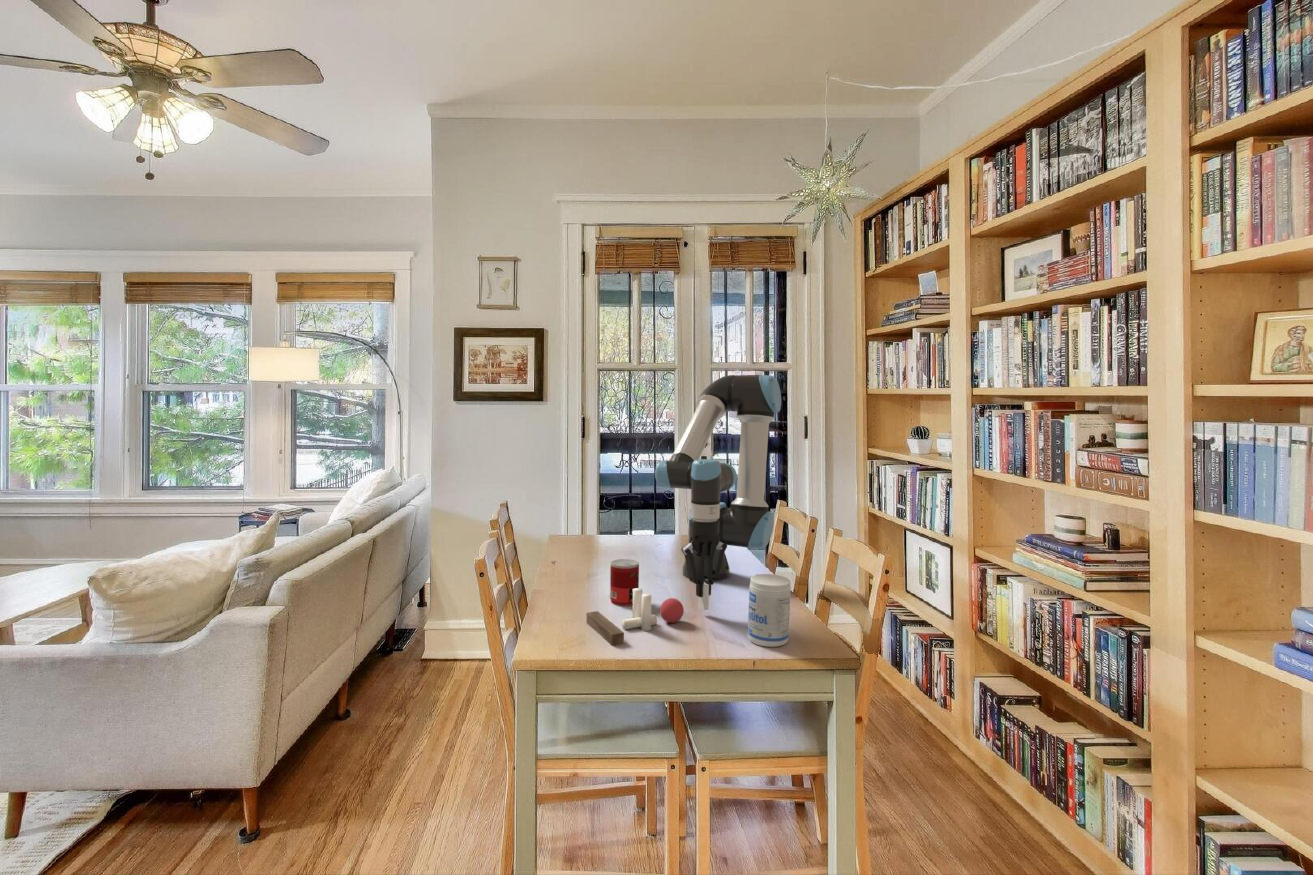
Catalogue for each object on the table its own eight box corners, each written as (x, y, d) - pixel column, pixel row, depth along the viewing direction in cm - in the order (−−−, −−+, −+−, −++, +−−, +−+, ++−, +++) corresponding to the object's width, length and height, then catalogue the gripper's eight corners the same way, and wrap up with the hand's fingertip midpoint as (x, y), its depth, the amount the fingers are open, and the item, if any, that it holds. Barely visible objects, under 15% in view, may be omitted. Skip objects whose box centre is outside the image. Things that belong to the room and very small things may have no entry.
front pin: (652, 613, 157) (622, 618, 153) (657, 616, 155) (626, 621, 151) (652, 622, 157) (621, 627, 154) (656, 625, 155) (625, 631, 151)
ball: (651, 608, 158) (664, 621, 161) (663, 617, 153) (677, 631, 156) (666, 590, 160) (679, 603, 162) (679, 598, 155) (692, 612, 157)
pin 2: (648, 626, 154) (648, 593, 154) (652, 630, 152) (653, 596, 151) (639, 628, 153) (639, 594, 152) (643, 631, 151) (644, 597, 150)
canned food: (635, 606, 169) (635, 567, 168) (606, 604, 170) (607, 565, 170) (641, 598, 176) (641, 559, 176) (614, 595, 178) (614, 558, 177)
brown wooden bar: (597, 620, 158) (597, 611, 158) (623, 643, 144) (623, 632, 144) (586, 622, 156) (586, 612, 156) (611, 645, 142) (612, 634, 142)
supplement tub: (739, 640, 146) (741, 579, 145) (760, 629, 154) (762, 571, 153) (776, 652, 140) (778, 587, 139) (796, 639, 147) (798, 578, 146)
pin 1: (639, 620, 159) (639, 587, 158) (643, 623, 156) (644, 590, 156) (630, 621, 157) (631, 588, 157) (634, 624, 155) (635, 591, 155)
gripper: (690, 523, 155) (689, 616, 157) (734, 519, 161) (732, 608, 163) (676, 518, 162) (674, 607, 163) (718, 514, 168) (716, 600, 169)
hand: (703, 608), depth 163 cm, fingers closed
